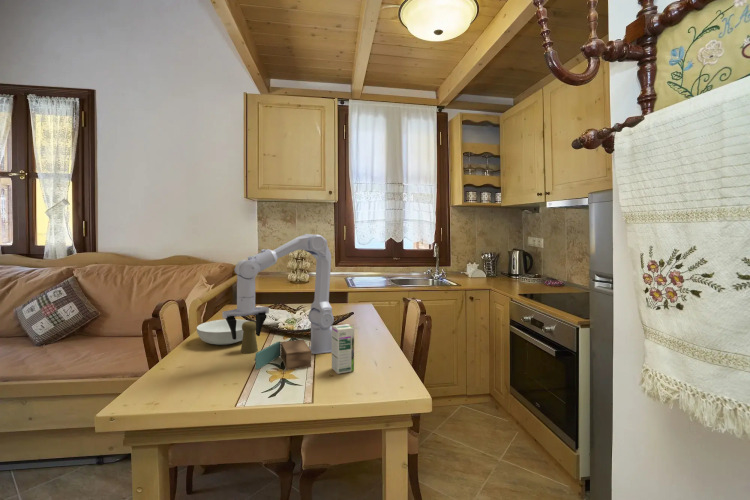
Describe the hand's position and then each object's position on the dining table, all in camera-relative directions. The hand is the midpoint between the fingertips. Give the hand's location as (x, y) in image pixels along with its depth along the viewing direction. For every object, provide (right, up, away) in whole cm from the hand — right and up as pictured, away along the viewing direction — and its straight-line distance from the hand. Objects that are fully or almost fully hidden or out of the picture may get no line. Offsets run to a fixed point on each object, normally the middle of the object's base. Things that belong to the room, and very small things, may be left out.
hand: (246, 337), depth 119 cm
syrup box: (+32, -11, -2) cm, 34 cm away
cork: (-4, -9, +14) cm, 17 cm away
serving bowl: (-17, -8, +25) cm, 31 cm away
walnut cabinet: (+15, -10, +5) cm, 19 cm away
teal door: (+6, -9, +3) cm, 11 cm away
